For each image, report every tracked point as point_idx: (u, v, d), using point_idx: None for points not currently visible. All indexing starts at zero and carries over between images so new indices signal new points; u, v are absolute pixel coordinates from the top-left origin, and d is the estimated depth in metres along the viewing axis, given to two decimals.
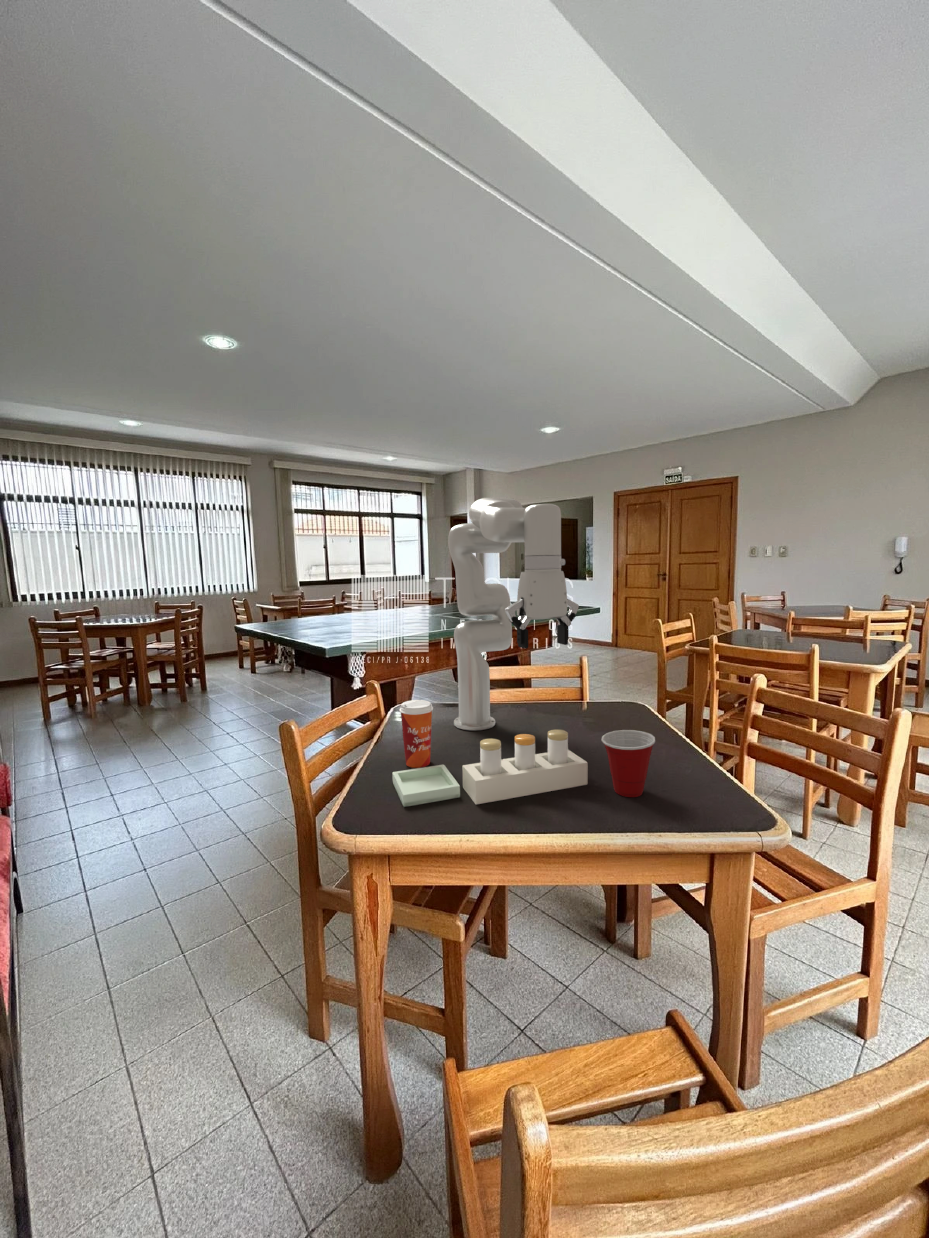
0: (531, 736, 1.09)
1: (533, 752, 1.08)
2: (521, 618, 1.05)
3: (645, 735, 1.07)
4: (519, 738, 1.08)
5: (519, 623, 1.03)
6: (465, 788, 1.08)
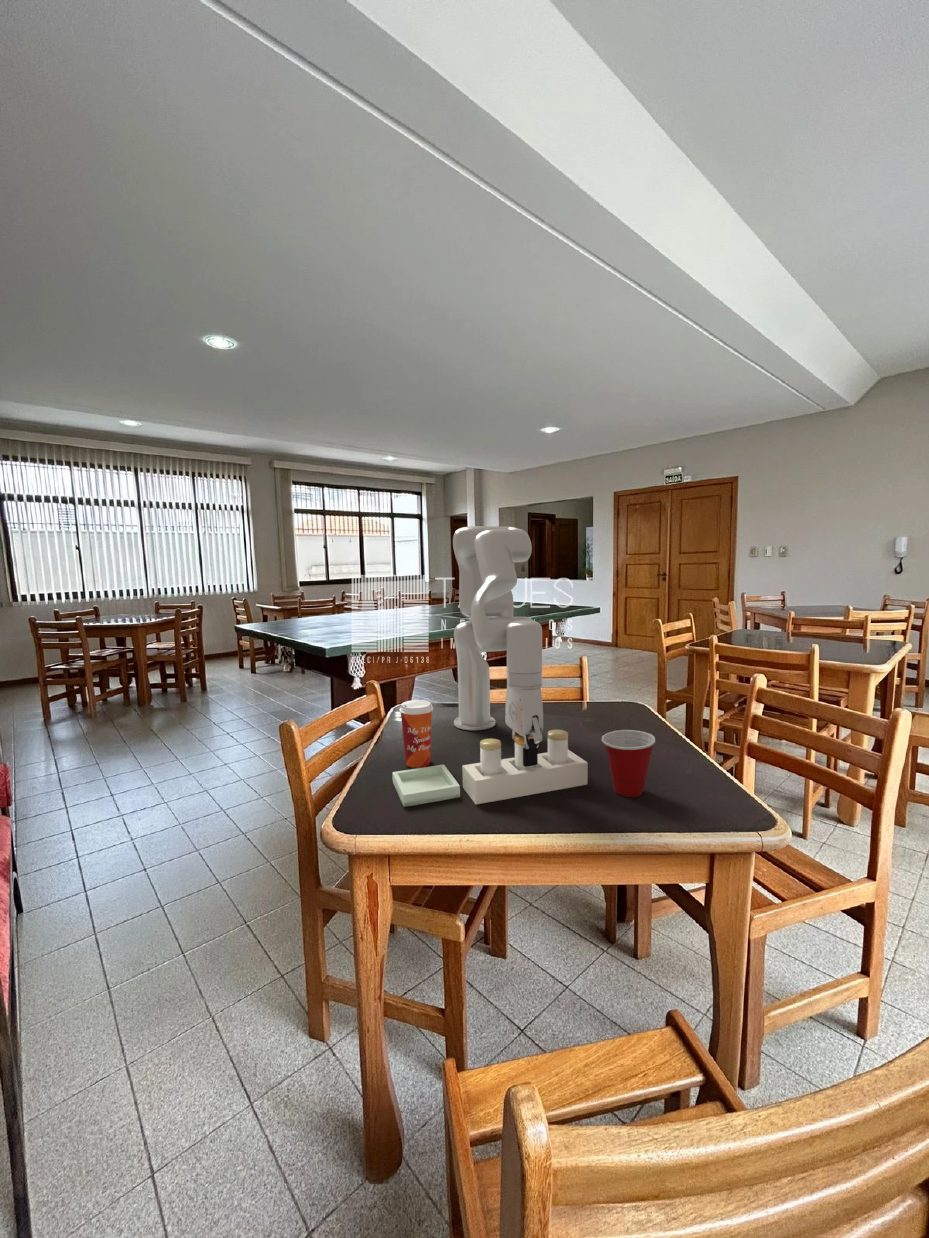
0: (531, 736, 1.09)
1: None
2: None
3: (645, 735, 1.07)
4: (519, 738, 1.08)
5: None
6: (465, 788, 1.08)
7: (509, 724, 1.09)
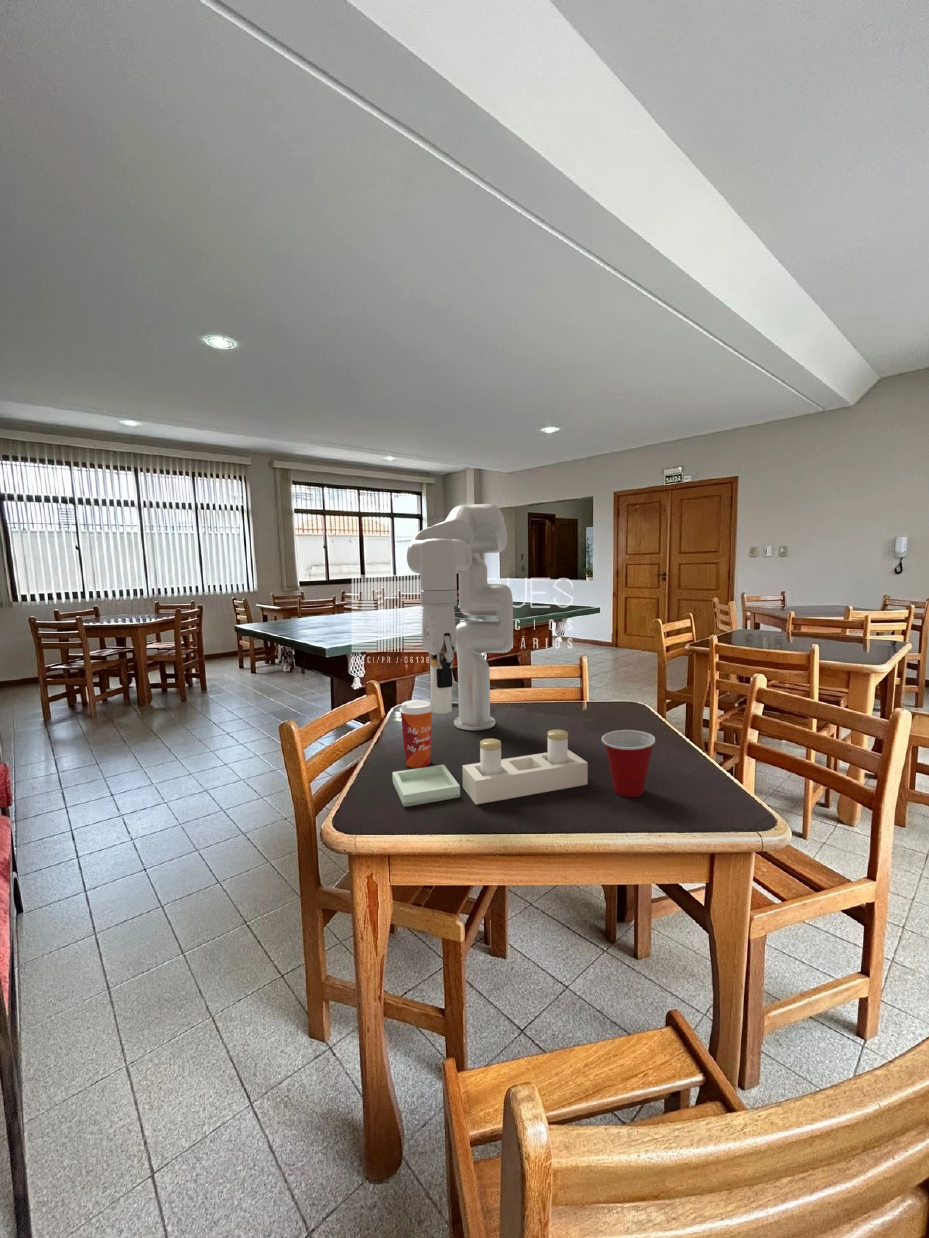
0: None
1: None
2: None
3: (645, 735, 1.07)
4: (434, 660, 1.06)
5: None
6: (465, 788, 1.08)
7: (424, 647, 1.06)
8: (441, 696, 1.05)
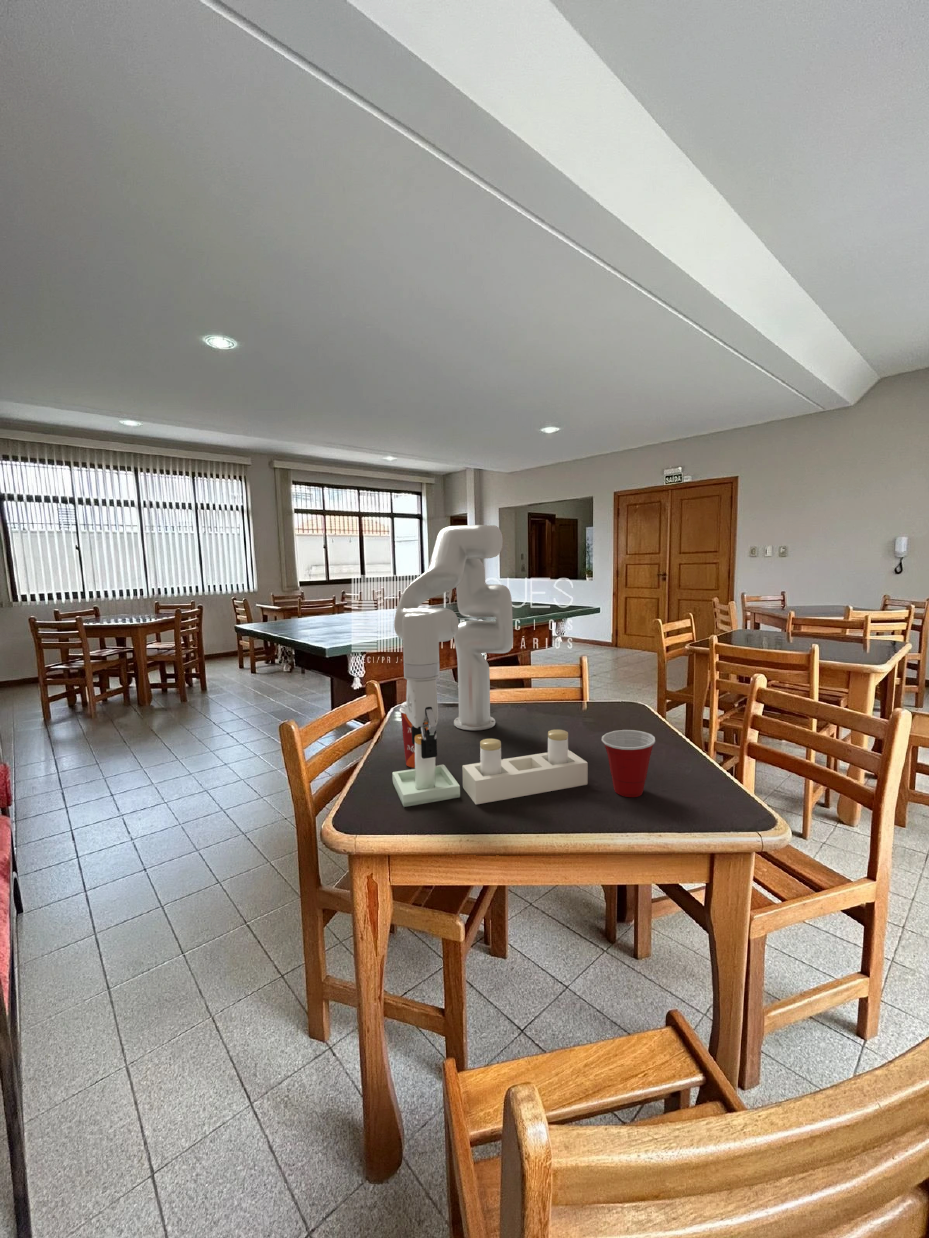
0: None
1: None
2: None
3: (645, 735, 1.07)
4: (418, 737, 1.07)
5: None
6: (465, 788, 1.08)
7: (408, 716, 1.08)
8: (424, 774, 1.06)
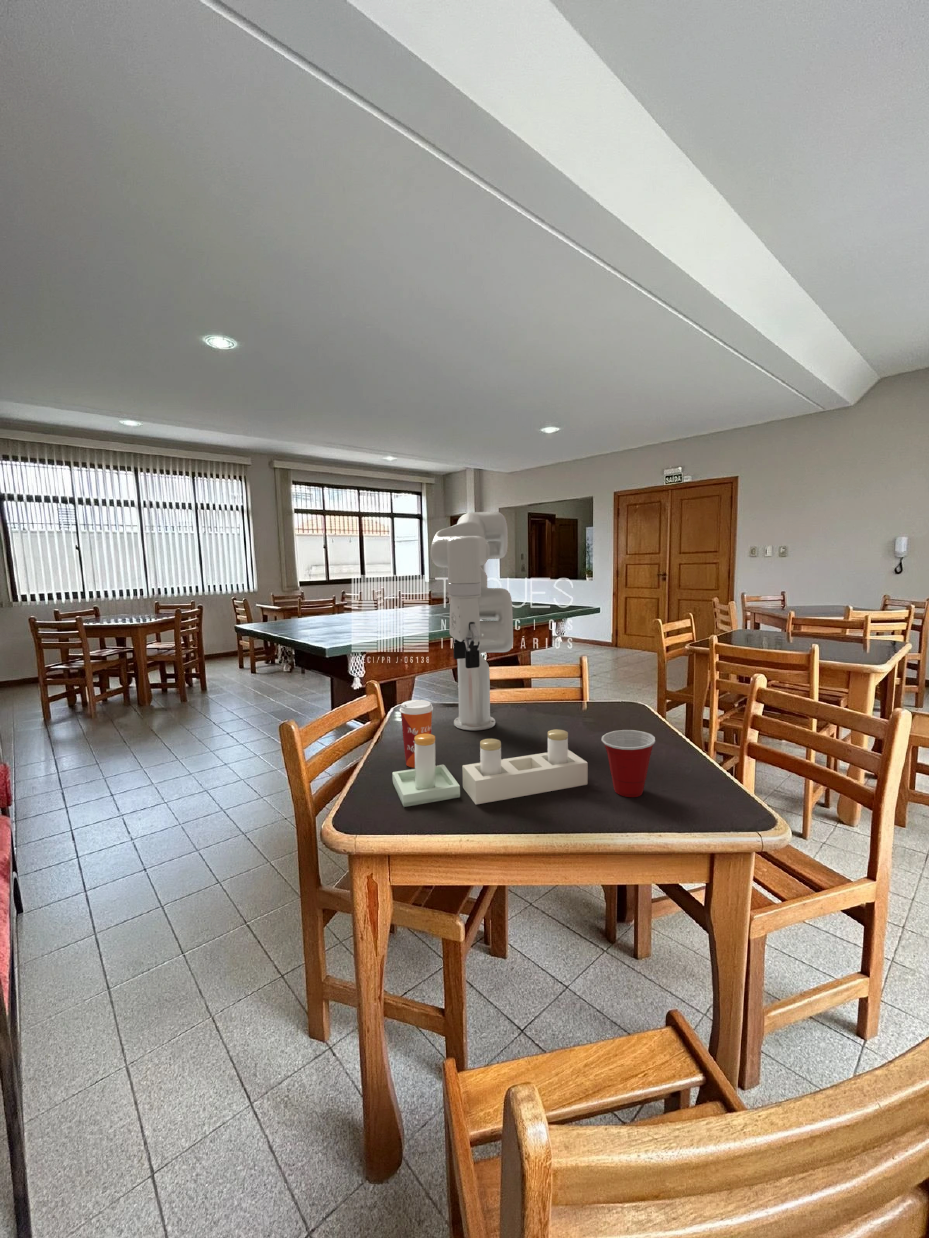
0: (432, 736, 1.08)
1: (432, 752, 1.06)
2: None
3: (645, 735, 1.07)
4: (418, 737, 1.07)
5: None
6: (465, 788, 1.08)
7: (451, 634, 1.18)
8: (424, 774, 1.06)
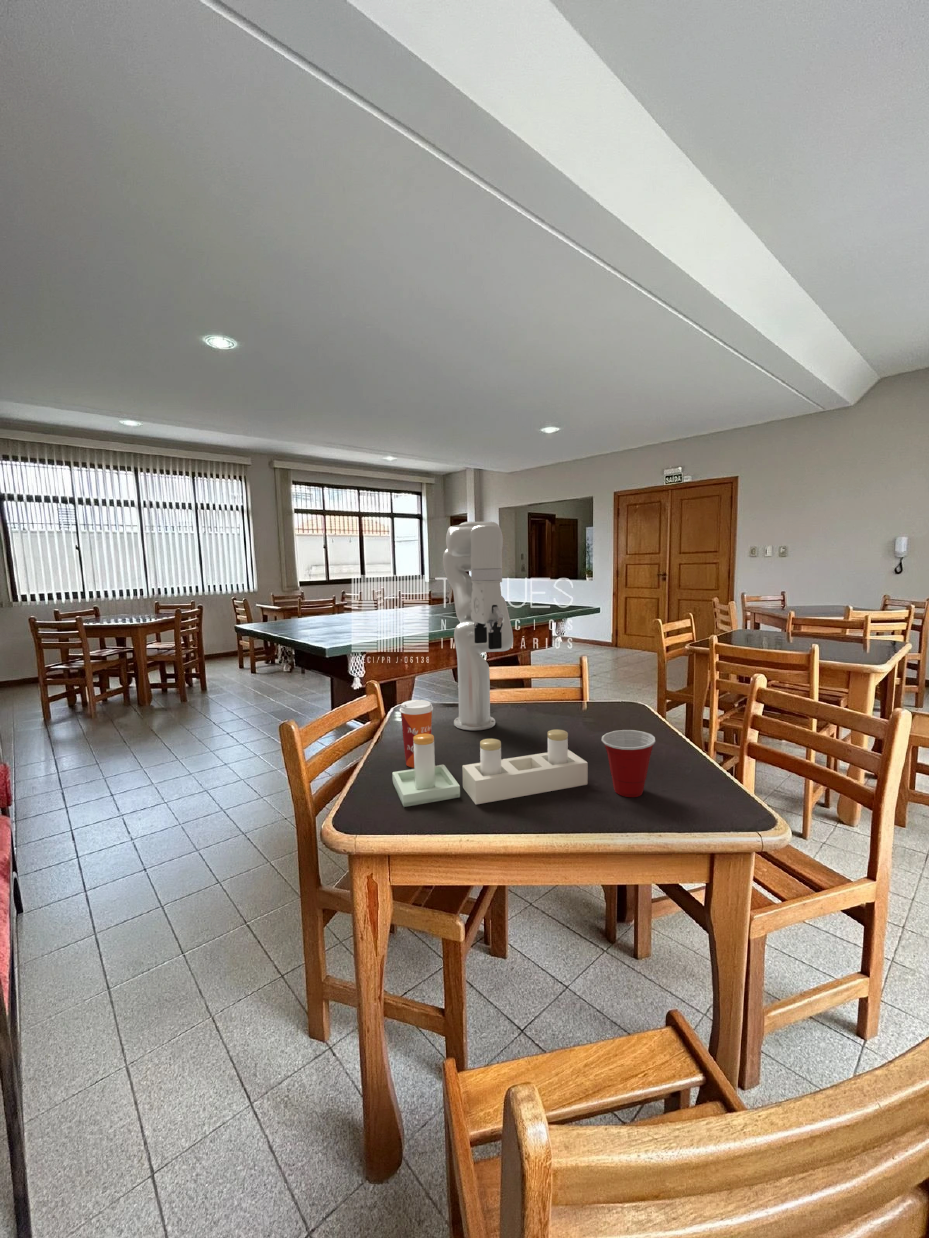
0: (430, 736, 1.08)
1: (431, 752, 1.07)
2: None
3: (645, 735, 1.07)
4: (417, 737, 1.08)
5: None
6: (465, 788, 1.08)
7: (474, 618, 1.25)
8: (424, 774, 1.06)
